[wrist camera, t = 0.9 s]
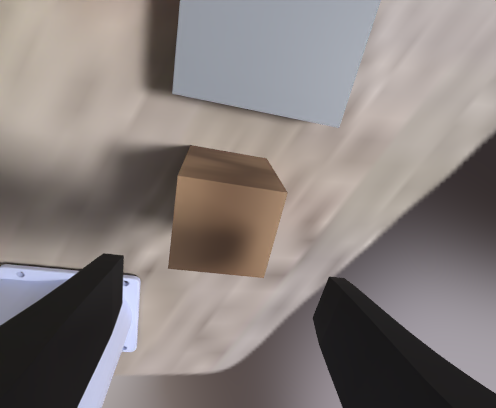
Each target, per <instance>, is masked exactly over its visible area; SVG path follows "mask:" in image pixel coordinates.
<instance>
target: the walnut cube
mask: <svg viewBox="0 0 496 408" xmlns="http://www.w3.org/2000/svg"><path fill="white" fill-rule="evenodd" d="M286 197H287V191H286V189H285V188H284V186H283V184H282V183H281V181H280V180H279V178H278V176H277V175H276V173H275V171H274V170H273V168H272V166H271V165H270V163H269V162H268V160H267V159H266V158H260V157H254V156H249V155H243V154H237V153H232V152H226V151H220V150H215V149H209V148H203V147H198V146H192V145H190V148H189V150H188V152H187V155H186V157H185V160H184V162H183V164H182V167H181V169H180V171H179V174H178V178H177V188H176V197H175V207H174V217H173V226H172V236H171V246H170V256H169V265H168V269H177V270H188V271H198V272H208V273H219V274H229V275H239V276H250V277H260V278H264V275H265V271H266V268H267V264H268V261H269V257H270V254H271V250H272V246H273V243H274V239H275V236H276V232H277V229H278V225H279V222H280V218H281V214H282V211H283V207H284V204H285V200H286Z"/></svg>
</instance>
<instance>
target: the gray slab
mask: <svg viewBox="0 0 496 408" xmlns="http://www.w3.org/2000/svg"><path fill="white" fill-rule="evenodd" d="M380 1H381V0H180V7H179V19H178V31H177V43H176V55H175V67H174V79H173V91H172V94H177V95H181V96H186V97H191V98H196V99H201V100H206V101H211V102H215V103H220V104H225V105H230V106H235V107H240V108H245V109H250V110H254V111H259V112H264V113H269V114H274V115H279V116H284V117H288V118H293V119H298V120H303V121H308V122H313V123H318V124H322V125H327V126H332V127H337V128H339V126H340V123H341V120H342V117H343V114H344V111H345V108H346V105H347V102H348V99H349V96H350V93H351V90H352V87H353V84H354V81H355V77H356V74H357V71H358V68H359V65H360V62H361V59H362V56H363V53H364V50H365V47H366V44H367V41H368V38H369V35H370V32H371V29H372V26H373V23H374V20H375V17H376V13H377V10H378V7H379V4H380Z"/></svg>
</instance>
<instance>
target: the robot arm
mask: <svg viewBox="0 0 496 408" xmlns="http://www.w3.org/2000/svg"><path fill="white" fill-rule="evenodd" d="M123 259H124V256H123V255H113V254H102V255H101V256H99V257H98V258H97V259H95V260H94V261H92V262H91V263H90V264H88V265H87V266H86V267H84V268H83V269H82V270H80V271H76V270H65V269H54V268H43V267H32V266H21V265H10V264H4V265H1V266H0V408H101V407H102V405H103V402H104V399H105V396H106V394H107V391H108V388H109V385H110V382H111V380H112V377H113V374H114V371H115V368H116V366H117V363H118V360H119V357H120V354H121V352H132V351H135V350H136V347H137V336H138V318H139V300H140V279H139V278H138V277H137V276H131V275H123ZM21 272H23V273H24V274H23V273H21ZM124 281H128V282H129V283H126V282H124ZM313 321H314V325H315V329H316V334H317V338H318V342H319V345H320V348H321V351H322V354H323V357H324V359H325V362H326V365H327V367H328V370H329V373H330V375H331V378H332V381H333V383H334V386H335V388H336V391H337V394H338V396H339V399H340V402H341V404H342V407H343V408H496V394H495V393H494V392H492V391H491V390H489V389H488V388H486V387H485V386H483V385H482V384H480V383H479V382H477V381H476V380H474V379H473V378H471V377H470V376H468V375H467V374H465V373H464V372H463V371H461V370H459V369H458V368H457V367H455V366H454V365H453V364H451V363H450V362H448V361H447V360H445V359H444V358H443V357H441V356H440V355H438V354H437V353H436V352H435V351H433V350H432V349H431V348H429V347H428V346H427V345H426V344H424V343H423V342H422V341H420V340H419V339H418V338H416V337H415V336H414V335H412V334H411V333H410V332H409V331H408V330H406V329H405V328H404V327H403V326H402V325H400V324H399V323H398V322H397V321H396V320H394V319H393V318H392V317H391V316H390V315H388V314H387V313H386V312H385V311H384V310H382V309H381V308H380V307H379V306H378V305H376V304H375V303H374V302H373V301H372V300H371V299H369V298H368V297H367V296H366V295H365V294H363V293H362V292H361V291H360V290H359V289H358V288H356V287H355V286H354V285H353V284H351V283H350V282H349V281H347V280H346V279H345V278H337V277H329V278H328V281H327V283H326V286H325V288H324V291H323V294H322V296H321V298H320V301H319V304H318V306H317V308H316V311H315V313H314V316H313Z"/></svg>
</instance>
